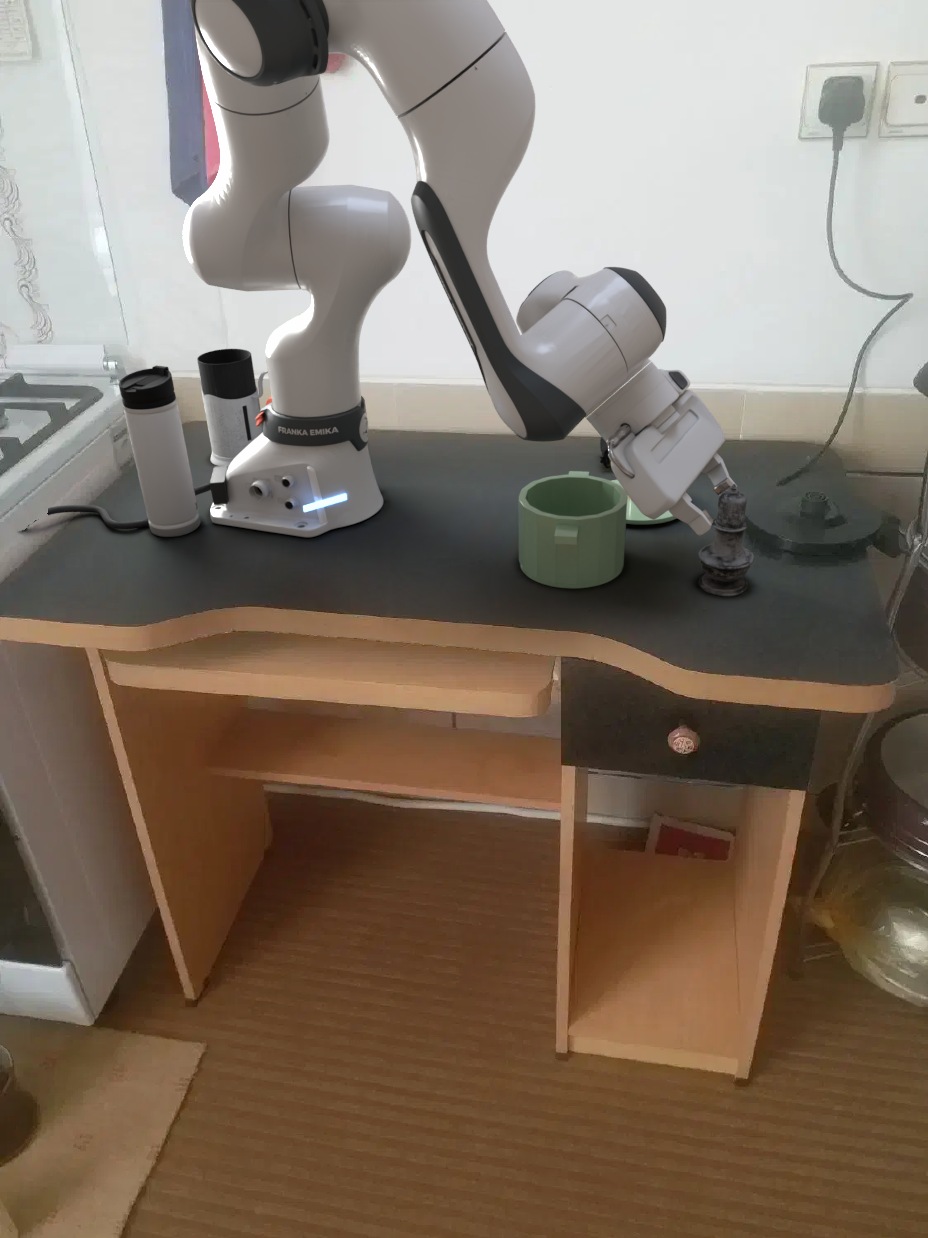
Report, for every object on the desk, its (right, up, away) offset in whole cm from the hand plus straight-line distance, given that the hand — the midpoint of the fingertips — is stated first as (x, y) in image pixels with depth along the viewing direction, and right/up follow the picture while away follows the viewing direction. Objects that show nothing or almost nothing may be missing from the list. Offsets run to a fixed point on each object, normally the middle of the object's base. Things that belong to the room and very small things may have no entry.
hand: (719, 511), depth 105 cm
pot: (-15, -5, +10) cm, 18 cm away
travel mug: (-64, 0, +22) cm, 68 cm away
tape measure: (-5, +10, +34) cm, 36 cm away
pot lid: (-5, +4, +22) cm, 23 cm away
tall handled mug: (-58, +12, +41) cm, 72 cm away
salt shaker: (+2, -8, +5) cm, 9 cm away
